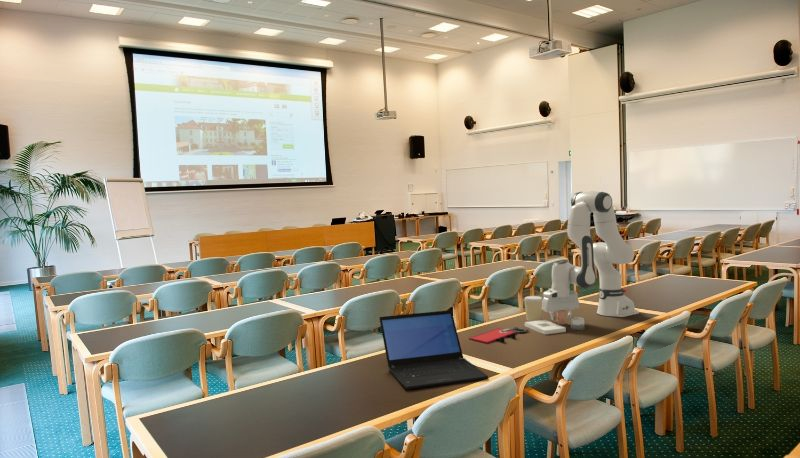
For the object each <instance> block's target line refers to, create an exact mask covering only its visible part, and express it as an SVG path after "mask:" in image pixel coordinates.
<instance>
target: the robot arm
mask: <svg viewBox="0 0 800 458" xmlns="http://www.w3.org/2000/svg"><path fill="white" fill-rule="evenodd" d="M570 205H571V207H570V211H569V214H568V217H567V219H568V220H567V226H566V227H567V228H566V229H567V231H566V232H567V237H568V238H569V240H570V241H571V242H573V243H574V244H575V245H576V246H577V247H578V249H579V251H580V265H581V266H577V265H574V264H572V263H570V262H568V260H565V259H564V260H563V259H562V260H556V261H555V262H553V264H552V266H551V283H552V284H551V287H550V289H548V290H545V291H543V292H542V296H543V298H542V310H543V311H542V312H545V313H548V314H549V315H550V319H551V320H552V321H555V320H556V316H555V315H554V312H557V311H561V310H565V311H568V313H566V318H567V319H571V318H572V314H573V311H574V310H575V309H579V307H580V303H579V302H580V301H579V293H578V292H577V291H576V290H570V288H571V287H570V285H575V286H578V287H579V288H583V289H585V290H586V289H591V288H592V287H593V286H594V284H596V281H597V274H596V273H597V272H596V270H595V267H596V268H597V271H598V277H599V288H598V297H599V299H598V305H597V309H596V314H598V315H601V316H606V317H615V318H626V317H628V316H633V315H639V314H640V311H639V309H635V302H634V301H633V300H632V299H630V298H629V297H628V296H626V295H625V293H628V291H629V290H628V289H627V288H622V275H621V274H622V273H621V272H620V271H618V270H617V269H616V268H615V266H614V265H613V264H615V265H626V264H630V263H631V262H632V261H633V260H634V258H635V251H634V248H633V247H632V246H631V245H629V244H628V243H627V242H626V240H624V238H623V237H622V235H621V234H620V232H619V227H618V223H617V217H616V212H615V210H614V209H615V208H614V206H613V198H612V196H611V194H610V193H608V192H606V191H605V192H604V191H597V190H596V191H593V190H591V191H580V192H575V193H574V194H573V195H572V197H571V200H570ZM592 213H593V215H592V216H593V222H594V228H595V234H596V236H597V237H599V238H600V239H601V240H602V241H604V242H602V241H600V242H599V241H598V242H593V239H592V237H591V214H592Z"/></svg>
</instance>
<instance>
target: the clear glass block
mask: <svg viewBox="0 0 800 458" xmlns="http://www.w3.org/2000/svg"><path fill="white" fill-rule="evenodd" d="M570 329H571V330H574V331H583V330H585V318H584V317H580V316H573V317H572V316H571V318H570Z"/></svg>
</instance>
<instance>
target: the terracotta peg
mask: <svg viewBox="0 0 800 458" xmlns="http://www.w3.org/2000/svg"><path fill="white" fill-rule="evenodd" d="M556 324H557V325H560V326H562V325H565V324H566V310H561V311H556Z"/></svg>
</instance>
